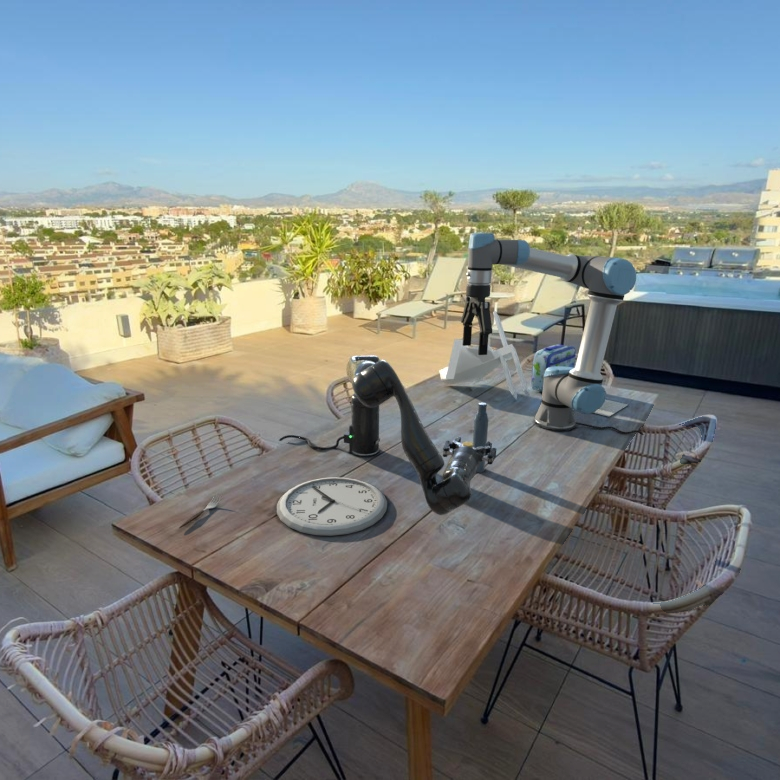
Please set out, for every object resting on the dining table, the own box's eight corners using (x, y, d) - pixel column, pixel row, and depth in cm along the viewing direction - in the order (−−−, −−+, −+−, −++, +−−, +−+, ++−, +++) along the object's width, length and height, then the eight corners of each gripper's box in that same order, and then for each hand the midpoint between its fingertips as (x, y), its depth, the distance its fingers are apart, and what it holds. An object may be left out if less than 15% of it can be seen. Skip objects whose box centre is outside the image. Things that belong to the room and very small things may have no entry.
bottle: (468, 468, 166) (473, 402, 160) (479, 465, 168) (484, 401, 162) (475, 473, 163) (480, 406, 156) (487, 471, 164) (492, 405, 158)
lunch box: (547, 397, 237) (552, 352, 231) (526, 391, 245) (531, 348, 238) (574, 386, 255) (580, 344, 249) (554, 381, 262) (559, 340, 256)
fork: (174, 529, 130) (174, 521, 130) (216, 499, 144) (215, 492, 144) (183, 531, 129) (182, 524, 129) (223, 501, 144) (223, 494, 143)
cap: (470, 451, 179) (470, 446, 178) (460, 449, 181) (460, 444, 180) (474, 448, 182) (475, 443, 181) (464, 445, 184) (465, 440, 183)
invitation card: (608, 416, 214) (573, 407, 224) (608, 416, 214) (573, 408, 224) (628, 404, 229) (594, 396, 238) (628, 405, 229) (594, 397, 238)
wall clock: (392, 527, 129) (268, 531, 127) (391, 533, 130) (269, 537, 127) (383, 473, 158) (282, 475, 155) (383, 478, 158) (282, 480, 156)
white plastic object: (461, 429, 252) (437, 405, 227) (444, 352, 274) (420, 323, 250) (535, 404, 240) (518, 377, 215) (510, 326, 262) (492, 293, 237)
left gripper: (491, 456, 134) (499, 433, 149) (437, 448, 138) (450, 426, 153) (488, 483, 136) (497, 457, 151) (435, 473, 141) (449, 450, 155)
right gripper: (453, 280, 175) (450, 342, 181) (483, 288, 152) (478, 359, 158) (474, 279, 177) (470, 341, 183) (507, 288, 154) (501, 358, 160)
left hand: (474, 442), depth 152 cm, fingers open, 8 cm apart
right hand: (474, 350), depth 171 cm, fingers open, 13 cm apart
